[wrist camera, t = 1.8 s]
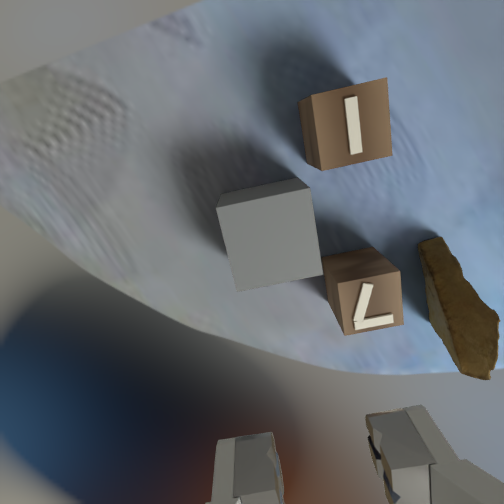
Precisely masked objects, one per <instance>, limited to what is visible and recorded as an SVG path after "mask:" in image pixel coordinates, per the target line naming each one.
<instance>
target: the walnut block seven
mask: <svg viewBox="0 0 504 504" xmlns="http://www.w3.org/2000/svg"><path fill="white" fill-rule="evenodd" d="M321 258H322V264H323V271H324V277H325V284H326V291H327V297H328V303H329V305H330V307H331V309H332V311H333V313H334V315H335V317H336V319H337V321H338V323H339V325H340V327H341V329H342V331H343V333H344V335H345V336H346V335H351V334H357V333H362V332H367V331H372V330H378V329H383V328H388V327H393V326H398V325H404V321H403V306H402V291H401V277H400V270H398V269H397V268H396V267H395V266H394V265H393V264H392V263H391V262H390V261H388V260H387V259H386V258H385V257H384V256H383V255H382V254H381V253H379V252H378V251H377V250H376V249H375V248H374V247H369V248H364V249H359V250H354V251H349V252H344V253H340V254H335V255H330V256H325V257H321Z"/></svg>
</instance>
